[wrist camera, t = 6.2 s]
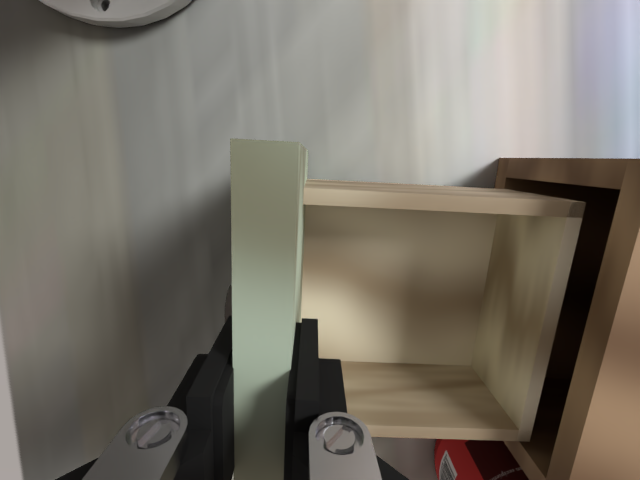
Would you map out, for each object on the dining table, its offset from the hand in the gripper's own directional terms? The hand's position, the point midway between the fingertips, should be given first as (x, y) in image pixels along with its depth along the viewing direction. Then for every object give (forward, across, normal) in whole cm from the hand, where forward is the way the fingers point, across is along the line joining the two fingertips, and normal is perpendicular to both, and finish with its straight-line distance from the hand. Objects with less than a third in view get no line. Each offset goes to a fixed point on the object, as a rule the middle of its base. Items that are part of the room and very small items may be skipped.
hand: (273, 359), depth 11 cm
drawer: (+9, -5, 0) cm, 10 cm away
